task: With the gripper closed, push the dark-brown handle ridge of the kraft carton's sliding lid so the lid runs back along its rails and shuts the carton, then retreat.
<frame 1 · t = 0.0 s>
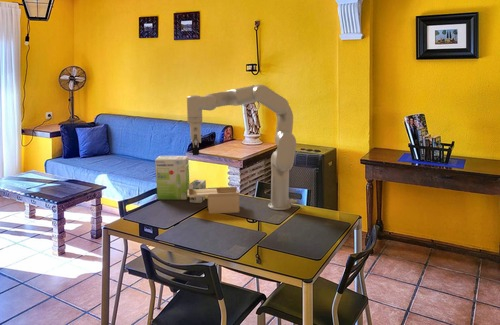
hand: (195, 153, 215), 31 cm above the table, fingers open, 9 cm apart
light bulb box: (198, 200, 239), on the table
lid: (202, 189, 220), point 11 cm above the table, slide at 11.0 cm
green product box: (173, 197, 244), on the table
carton: (223, 209, 224), on the table
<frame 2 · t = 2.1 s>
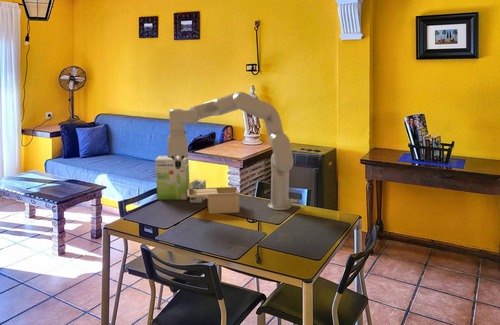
hand: (178, 168, 215), 23 cm above the table, fingers closed
nothing on the table moved.
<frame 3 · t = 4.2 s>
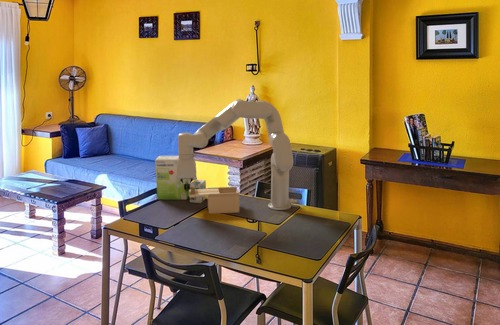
hand: (187, 190, 219), 11 cm above the table, fingers closed
lid: (204, 189, 220), point 11 cm above the table, slide at 10.0 cm, touching gripper
everything else where it was.
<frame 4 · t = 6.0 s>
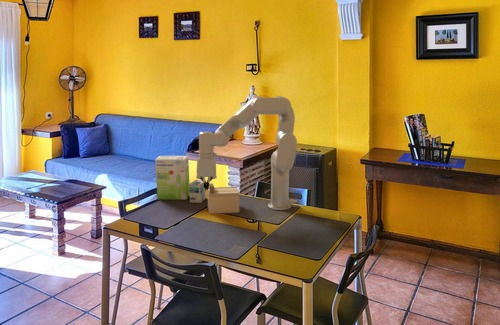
hand: (206, 189, 220), 12 cm above the table, fingers closed
lid: (223, 189, 221), point 11 cm above the table, slide at -0.1 cm, touching gripper
everything else where it was.
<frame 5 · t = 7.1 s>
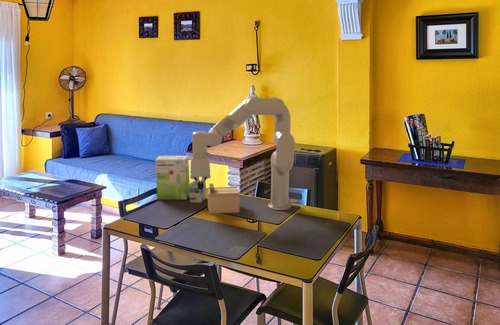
hand: (200, 189, 220), 12 cm above the table, fingers closed
lid: (223, 189, 221), point 11 cm above the table, slide at 0.0 cm
everything else where it was.
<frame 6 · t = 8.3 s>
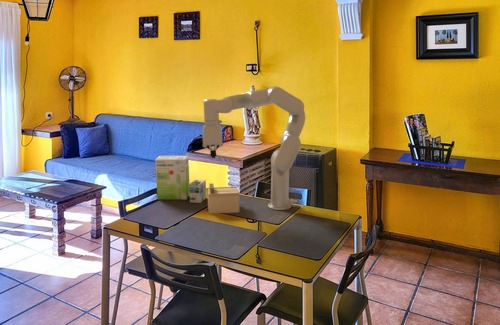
hand: (213, 157, 219), 28 cm above the table, fingers closed
nothing on the table moved.
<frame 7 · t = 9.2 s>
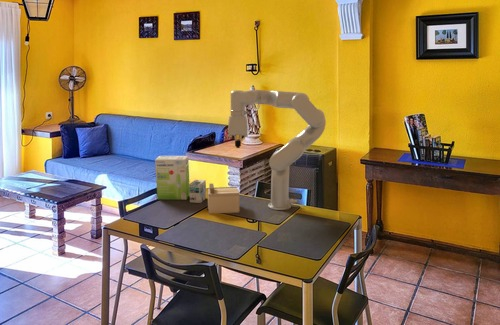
hand: (237, 147, 226), 32 cm above the table, fingers closed
nothing on the table moved.
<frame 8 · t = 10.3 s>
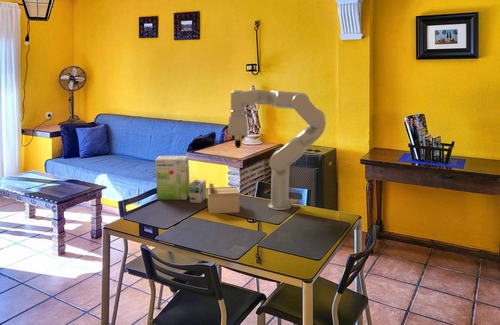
hand: (237, 147, 226), 32 cm above the table, fingers closed
nothing on the table moved.
at the end: lid slide at 0.0 cm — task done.
